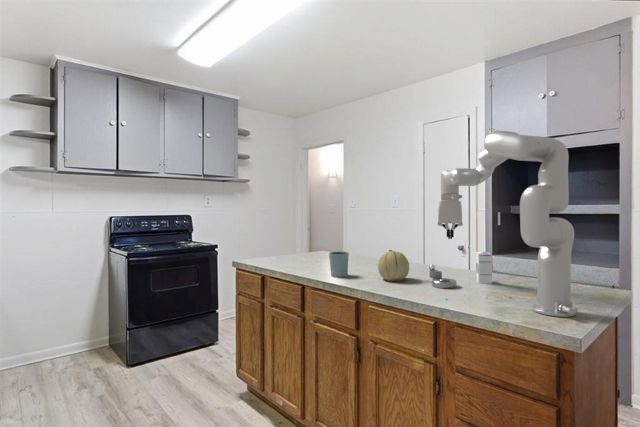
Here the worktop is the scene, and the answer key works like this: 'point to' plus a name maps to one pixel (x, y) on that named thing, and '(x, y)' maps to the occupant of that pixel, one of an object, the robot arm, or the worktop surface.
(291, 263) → the worktop surface
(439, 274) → the silver door handle
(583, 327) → the worktop surface
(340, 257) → the drinking glass
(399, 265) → the cantaloupe
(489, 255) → the syrup box
